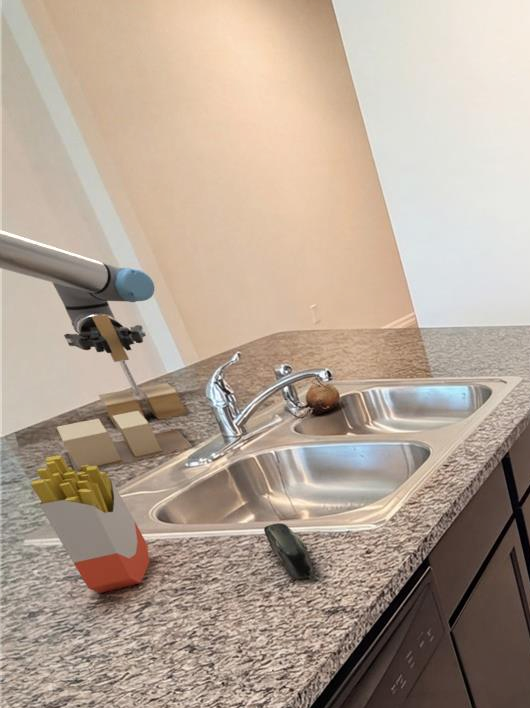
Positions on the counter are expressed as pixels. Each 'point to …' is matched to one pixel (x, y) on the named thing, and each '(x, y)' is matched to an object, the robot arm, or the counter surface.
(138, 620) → the counter surface
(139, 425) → the beige wooden block
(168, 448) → the board
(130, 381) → the wooden handled screwdriver
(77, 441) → the beige block
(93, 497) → the french fries container
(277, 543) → the dark green zucchini
